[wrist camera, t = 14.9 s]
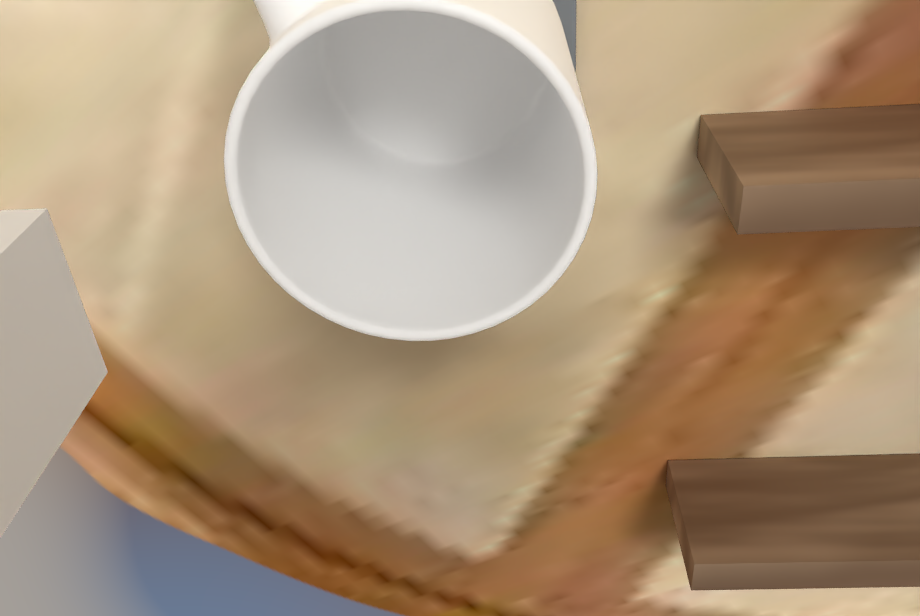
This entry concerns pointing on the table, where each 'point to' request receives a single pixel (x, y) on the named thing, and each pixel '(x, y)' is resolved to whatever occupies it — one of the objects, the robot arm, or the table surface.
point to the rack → (805, 478)
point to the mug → (412, 160)
